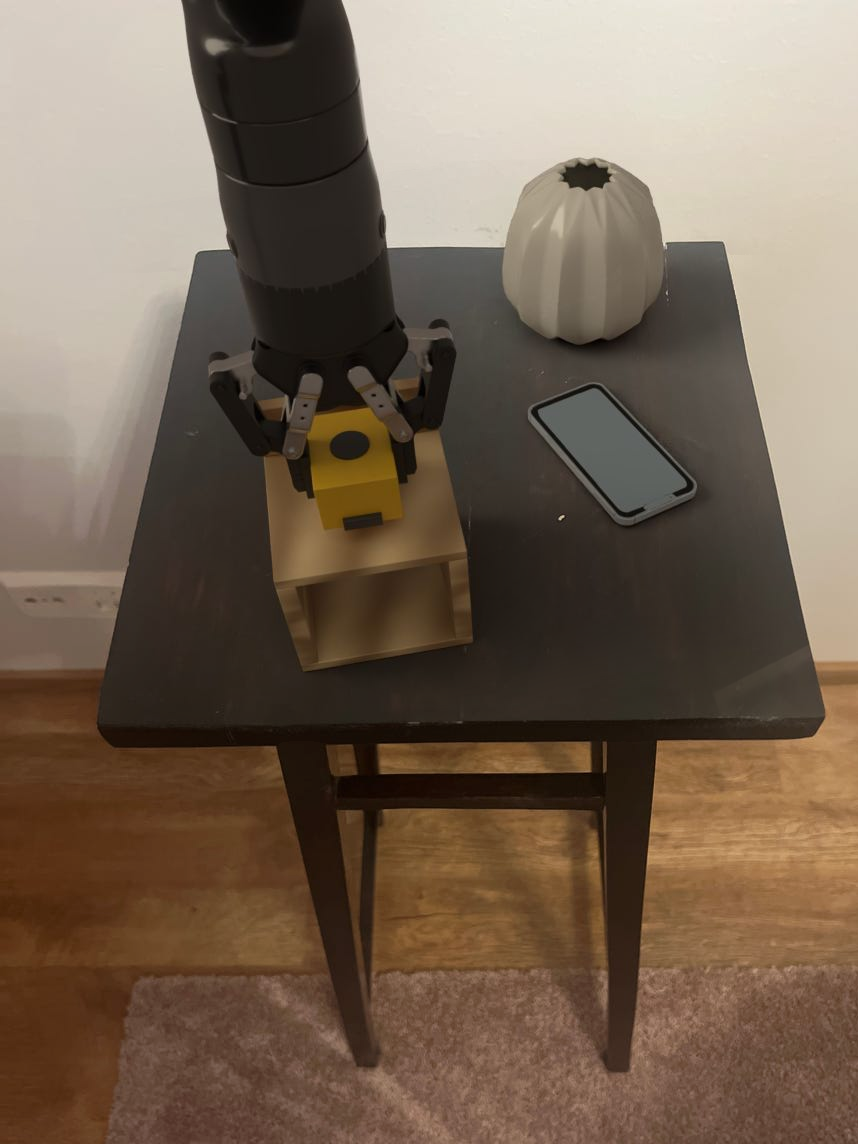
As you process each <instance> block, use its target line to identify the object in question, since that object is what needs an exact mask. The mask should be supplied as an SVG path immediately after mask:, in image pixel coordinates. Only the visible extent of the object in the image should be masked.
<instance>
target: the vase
mask: <svg viewBox="0 0 858 1144" xmlns="http://www.w3.org/2000/svg"><path fill="white" fill-rule="evenodd" d="M663 242H664V241H663V233H662V227H661V221H660V219H659V216H658V213H657V209H656V207H655V205H654V199H653V196H652V193H651V190H650V188H649V186H648V185H647V184H646V183H645V182H643V181H642V180H641V179H640V178H638V176H636V175H634V174H633V173H632V172H630V171H628V170H627V169H625V168H623V167H622V166H620V165H618V164H617V163H614V162H611V161H608V160H605V159H603V158H600V157H590V158H583V157H574V158H570V159H568V160H566V161H562V162H559V163H557V164H554V165H553V166H551V167H549V168H548V169H546V170H544V171H543V172H541V173H540V174H539V175H537V176H535V177H534V178H533V179H531V180H530V181H528V183H526V184H525V185H524V186H523V188H522V190H521V193H520V195H519V196H518V200H517V204H516V207H515V210H514V212H513V215H512V217H511V219H510V222H509V227H508V231H507V234H506V240H505V245H504V250H503V259H502V267H501V268H502V269H501V275H502V277H501V278H502V287H503V291H504V295H505V297H506V299H507V300H508V301H509V302H510V304H511V305H512V306H513V308H514V309H515V310H516V311H517V313H518V316H519V320H520V321H521V322H523V323H524V324H525V325H526V326H528V327H529V328H531V329H532V330H533V331H535V332H536V333H538V334H539V335H541V337H544V338H545V339H547V340H554V339H562V340H564V341H566V342H569V343H570V344H573V345H576V346H581V345H584V344H587V343H591V342H593V341H596V340H598V339H601V340H604V341H611V340H614V339H616V338H618V337H619V336H621V335H622V334H624V333H626V332H628V331H629V330H630V329H632V328H633V327H635V326H637V325H639V324H640V323H641V321H642V319H643V316H644V313H645V312H646V311H647V310H648V309H649V308H650V307H651V306H652V305H653V303H655V302H656V300H657V299H658V297H659V295H660V291H661V288H662V285H663V280H664V279H663V278H664V269H665V268H664V264H665V263H664V244H663Z"/></svg>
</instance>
